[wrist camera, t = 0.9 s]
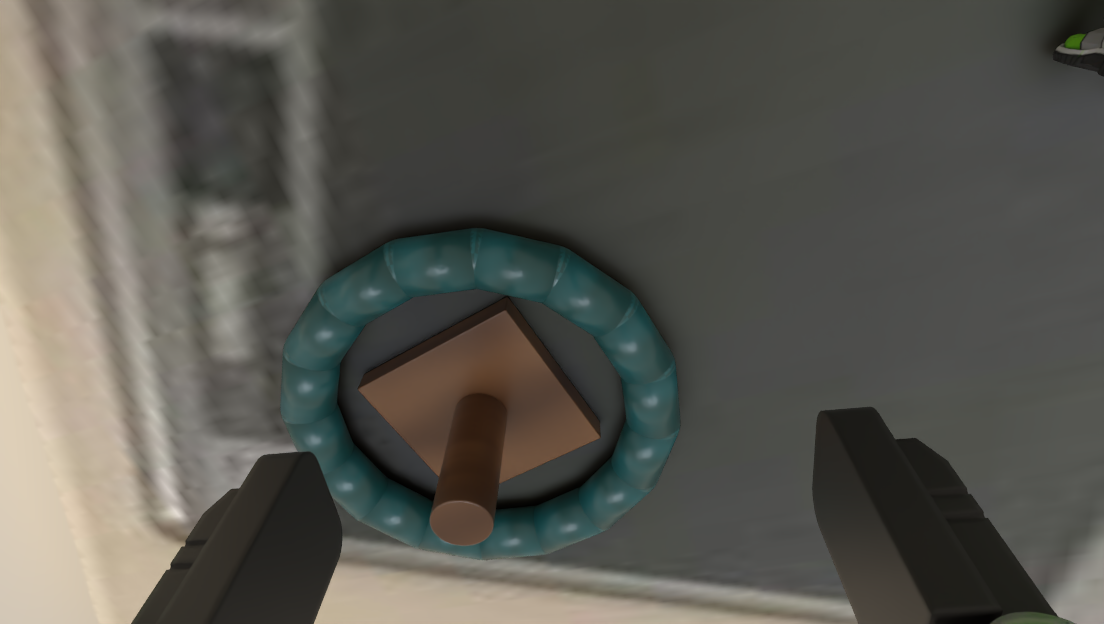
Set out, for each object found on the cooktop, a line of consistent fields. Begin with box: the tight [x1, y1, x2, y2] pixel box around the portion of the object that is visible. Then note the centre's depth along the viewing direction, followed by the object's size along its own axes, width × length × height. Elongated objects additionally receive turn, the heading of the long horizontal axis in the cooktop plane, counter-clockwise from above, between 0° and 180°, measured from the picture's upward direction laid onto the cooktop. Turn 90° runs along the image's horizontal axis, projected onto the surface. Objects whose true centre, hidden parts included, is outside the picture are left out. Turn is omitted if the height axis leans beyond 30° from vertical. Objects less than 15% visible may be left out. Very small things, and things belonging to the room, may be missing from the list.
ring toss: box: [358, 297, 601, 546], centre depth 29 cm, size 8×8×8 cm
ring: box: [280, 228, 680, 560], centre depth 31 cm, size 18×18×2 cm
